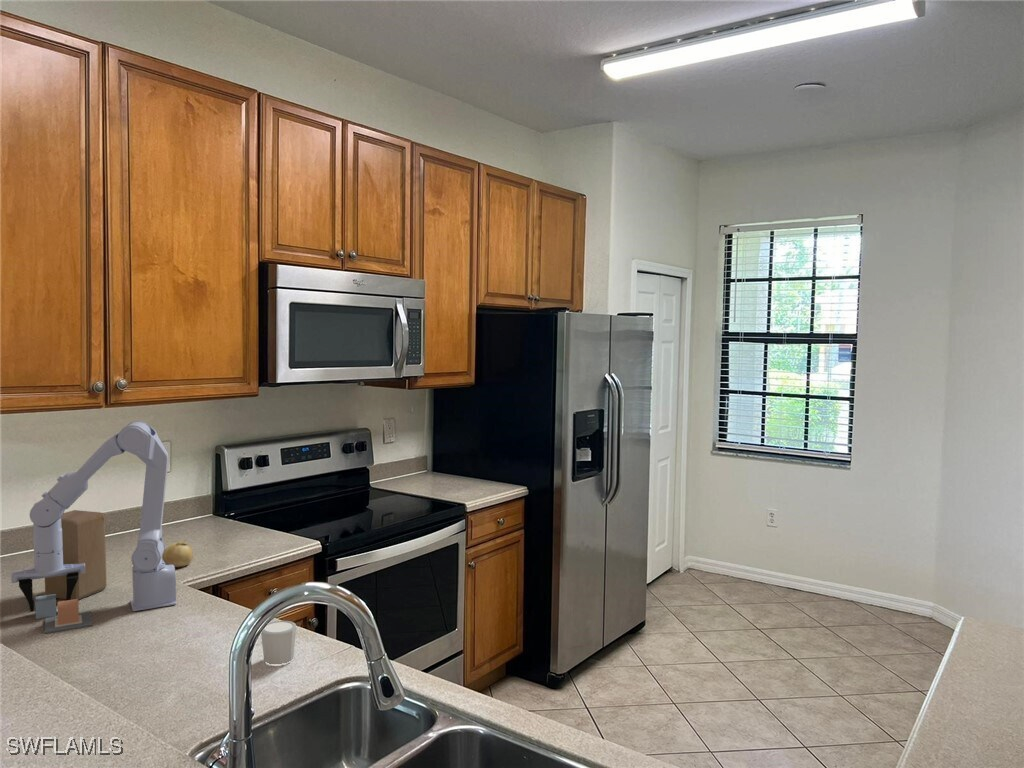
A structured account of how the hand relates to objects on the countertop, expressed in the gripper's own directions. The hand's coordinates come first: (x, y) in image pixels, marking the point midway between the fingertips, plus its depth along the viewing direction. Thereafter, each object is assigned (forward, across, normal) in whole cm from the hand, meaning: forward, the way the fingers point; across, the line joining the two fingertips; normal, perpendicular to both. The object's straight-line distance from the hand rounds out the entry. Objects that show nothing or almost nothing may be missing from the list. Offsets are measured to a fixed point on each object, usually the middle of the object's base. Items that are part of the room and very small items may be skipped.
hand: (50, 607), depth 175 cm
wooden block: (+2, -6, -12) cm, 14 cm away
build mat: (+1, -4, +8) cm, 9 cm away
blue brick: (+2, +1, 0) cm, 2 cm away
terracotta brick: (+1, -4, +8) cm, 9 cm away
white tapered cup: (+2, -40, +52) cm, 65 cm away
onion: (+2, -30, -24) cm, 39 cm away
